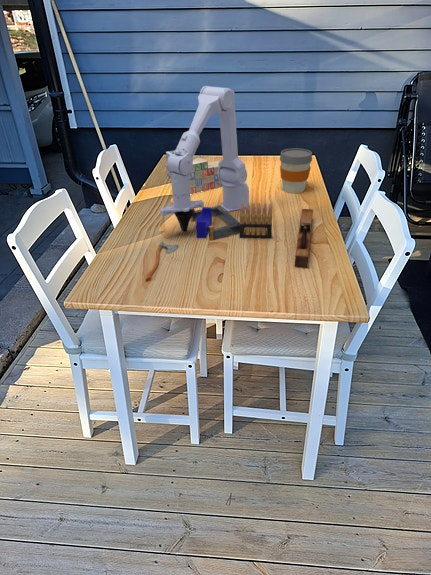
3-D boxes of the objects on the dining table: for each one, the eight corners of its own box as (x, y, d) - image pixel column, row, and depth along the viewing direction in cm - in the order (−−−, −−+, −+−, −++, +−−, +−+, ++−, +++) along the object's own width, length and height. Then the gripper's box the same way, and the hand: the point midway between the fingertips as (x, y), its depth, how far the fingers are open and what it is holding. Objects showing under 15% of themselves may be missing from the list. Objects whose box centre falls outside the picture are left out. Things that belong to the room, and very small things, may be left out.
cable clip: (199, 222, 152) (198, 206, 148) (211, 223, 151) (211, 207, 148) (192, 238, 142) (191, 221, 139) (205, 238, 141) (205, 222, 138)
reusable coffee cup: (309, 184, 179) (312, 148, 171) (309, 195, 169) (312, 157, 161) (279, 183, 181) (281, 147, 173) (277, 194, 171) (279, 157, 163)
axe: (167, 282, 120) (166, 277, 119) (145, 283, 121) (144, 278, 120) (179, 245, 139) (179, 240, 138) (160, 245, 139) (159, 241, 138)
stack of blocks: (219, 181, 186) (218, 153, 179) (227, 185, 181) (226, 156, 174) (175, 192, 177) (173, 162, 170) (182, 196, 172) (180, 166, 165)
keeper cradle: (218, 213, 158) (218, 201, 155) (242, 232, 144) (242, 220, 141) (189, 219, 153) (188, 208, 151) (210, 240, 140) (210, 227, 137)
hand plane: (312, 269, 124) (316, 238, 118) (294, 268, 125) (296, 237, 119) (311, 219, 152) (314, 192, 146) (296, 218, 152) (299, 192, 147)
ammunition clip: (271, 236, 141) (273, 202, 135) (271, 238, 140) (273, 204, 133) (239, 235, 142) (239, 201, 136) (239, 238, 141) (239, 204, 134)
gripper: (164, 201, 131) (168, 240, 139) (206, 192, 136) (208, 230, 144) (156, 193, 136) (161, 231, 144) (198, 185, 141) (200, 222, 149)
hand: (184, 230), depth 144 cm, fingers closed
